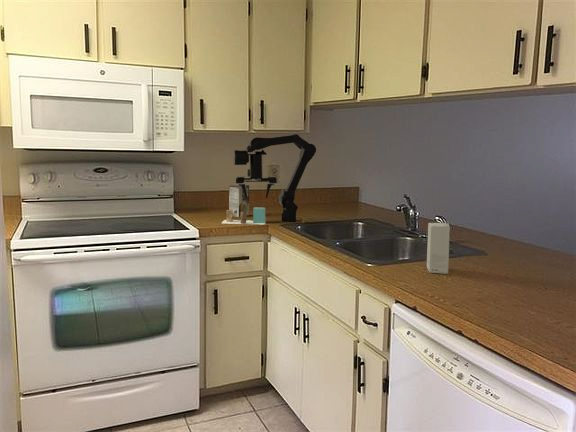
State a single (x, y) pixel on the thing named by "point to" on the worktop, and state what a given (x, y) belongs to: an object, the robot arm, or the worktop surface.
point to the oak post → (229, 215)
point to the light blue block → (259, 215)
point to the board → (240, 222)
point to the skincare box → (438, 248)
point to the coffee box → (238, 200)
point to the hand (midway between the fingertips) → (256, 198)
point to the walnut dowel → (243, 217)
